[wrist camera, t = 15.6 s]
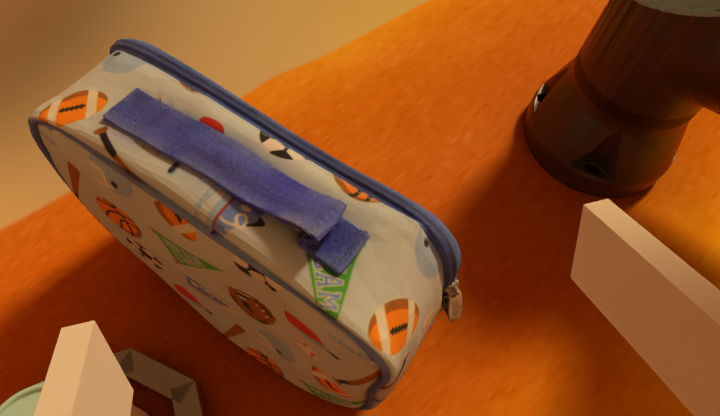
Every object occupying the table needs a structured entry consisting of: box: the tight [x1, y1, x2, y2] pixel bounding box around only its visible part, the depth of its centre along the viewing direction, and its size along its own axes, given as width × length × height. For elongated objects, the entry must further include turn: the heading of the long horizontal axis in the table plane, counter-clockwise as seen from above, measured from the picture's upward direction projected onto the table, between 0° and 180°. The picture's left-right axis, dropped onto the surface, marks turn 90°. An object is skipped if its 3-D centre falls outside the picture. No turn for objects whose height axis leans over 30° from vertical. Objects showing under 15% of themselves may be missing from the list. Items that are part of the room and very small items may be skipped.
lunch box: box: [28, 39, 463, 410], centre depth 35 cm, size 28×10×22 cm, turn 58°
